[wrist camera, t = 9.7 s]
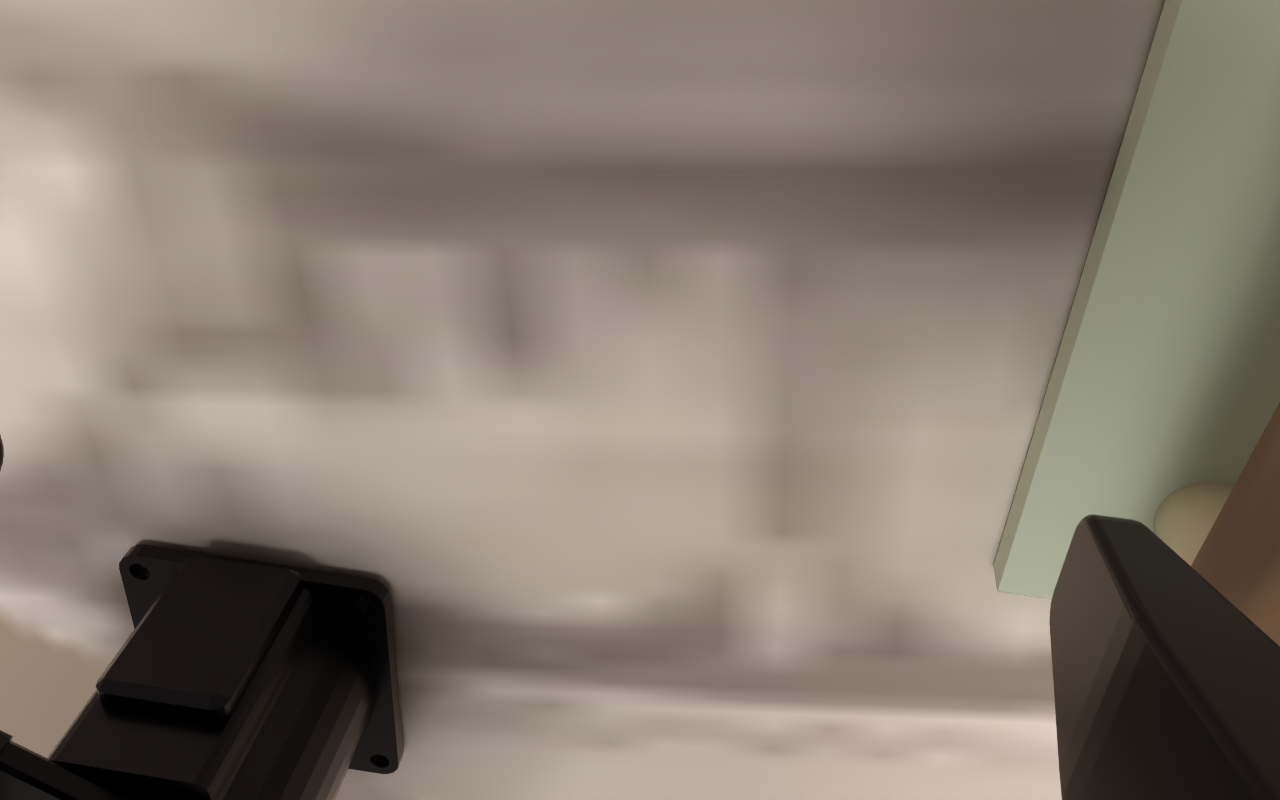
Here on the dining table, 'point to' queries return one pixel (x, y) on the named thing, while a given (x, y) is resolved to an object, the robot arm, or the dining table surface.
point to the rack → (1167, 305)
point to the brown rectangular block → (1250, 538)
